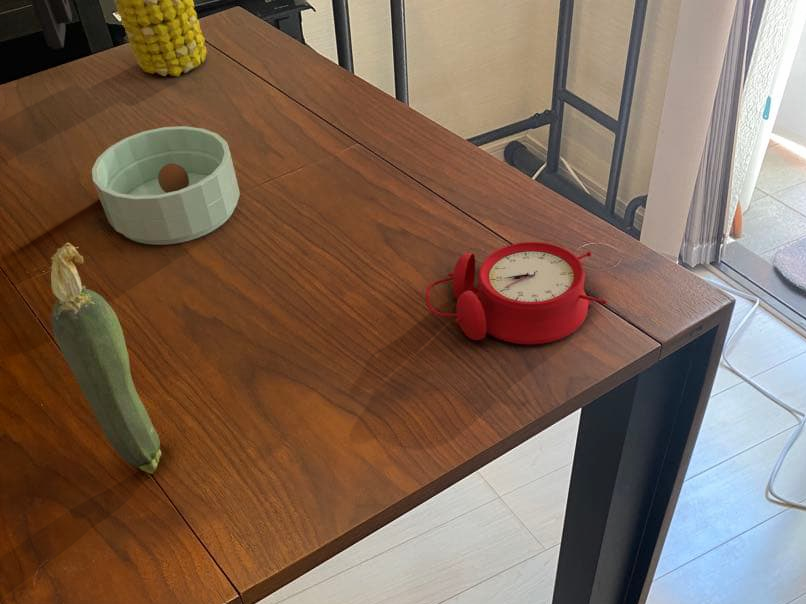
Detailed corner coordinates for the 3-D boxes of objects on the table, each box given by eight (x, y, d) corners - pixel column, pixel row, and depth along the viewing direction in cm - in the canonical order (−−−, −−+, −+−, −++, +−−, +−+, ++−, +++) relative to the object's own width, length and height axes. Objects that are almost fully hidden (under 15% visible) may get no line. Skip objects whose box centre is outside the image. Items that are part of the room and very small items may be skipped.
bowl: (83, 221, 91) (63, 173, 86) (179, 162, 97) (165, 114, 93) (171, 263, 85) (155, 213, 80) (267, 197, 91) (257, 148, 87)
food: (222, 65, 115) (175, 102, 111) (154, 31, 117) (105, 65, 113) (211, -55, 102) (157, -20, 97) (135, -92, 104) (78, -59, 99)
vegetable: (110, 476, 67) (-2, 259, 52) (136, 438, 70) (36, 220, 54) (159, 486, 66) (60, 268, 51) (183, 447, 69) (96, 228, 53)
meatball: (157, 196, 91) (148, 168, 89) (178, 182, 93) (170, 154, 90) (176, 204, 90) (168, 176, 87) (198, 190, 91) (190, 162, 89)
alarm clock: (616, 306, 70) (441, 287, 68) (591, 363, 75) (427, 348, 73) (592, 235, 77) (432, 216, 74) (571, 292, 82) (419, 276, 79)
